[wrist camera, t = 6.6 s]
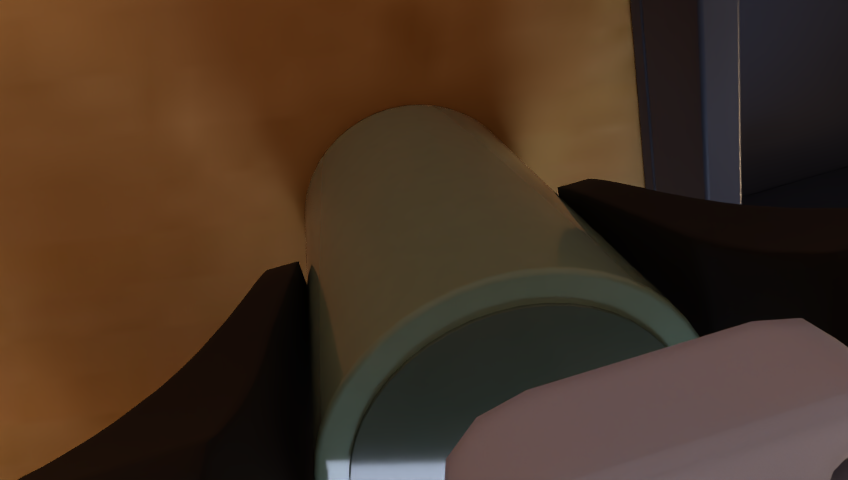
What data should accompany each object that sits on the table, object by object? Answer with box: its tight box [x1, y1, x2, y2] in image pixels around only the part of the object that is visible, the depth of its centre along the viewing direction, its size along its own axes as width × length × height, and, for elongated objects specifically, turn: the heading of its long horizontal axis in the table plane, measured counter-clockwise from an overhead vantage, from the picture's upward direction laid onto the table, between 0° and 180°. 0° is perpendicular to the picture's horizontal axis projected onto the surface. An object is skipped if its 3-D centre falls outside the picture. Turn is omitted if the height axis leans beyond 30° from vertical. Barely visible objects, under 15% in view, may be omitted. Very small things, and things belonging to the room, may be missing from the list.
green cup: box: [305, 105, 700, 480], centre depth 11 cm, size 5×5×8 cm
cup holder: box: [630, 0, 848, 208], centre depth 15 cm, size 15×8×3 cm, turn 13°
